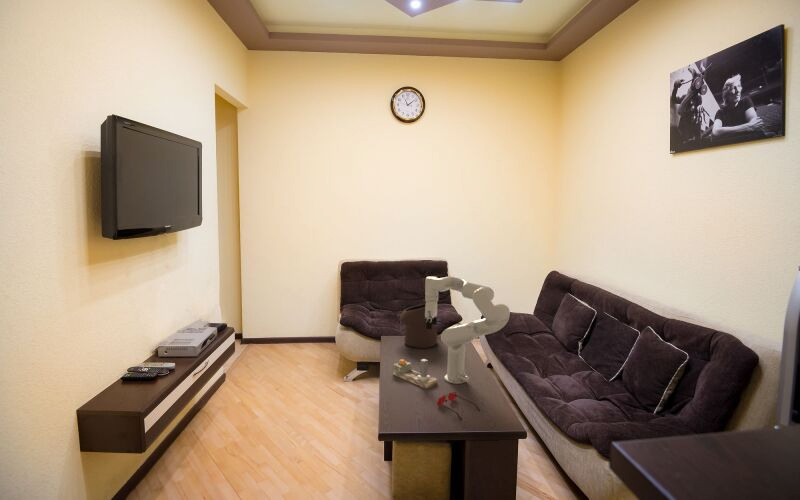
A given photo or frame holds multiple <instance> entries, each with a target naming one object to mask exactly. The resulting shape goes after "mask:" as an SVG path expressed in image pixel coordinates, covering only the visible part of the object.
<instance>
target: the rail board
mask: <svg viewBox="0 0 800 500" xmlns="http://www.w3.org/2000/svg"><path fill="white" fill-rule="evenodd" d="M392 365H393V366H392V371H393V372H392V374H393V376H396V377H399V378H401V379H403V380H405V381H408V382H409V383H412V384H413V385H414V384H415V385H417V386H419V387H421V388H423V389H426V390H427V389H429V388H431V387H434V386H437V385H438V378H436V377H434V376H433V377H430V379H428V380H425V381H421V380H419V379H417V376H418V375H420V372H418V371H416V370H414V369H412V362H409V361H406V364H405V365H404V366H401V365H399V362H396V363H394V364H392Z"/></svg>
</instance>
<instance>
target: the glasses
mask: <svg viewBox="0 0 800 500" xmlns="http://www.w3.org/2000/svg"><path fill="white" fill-rule="evenodd" d="M457 397H458V398H460V399H461V400H463V401H466V402H468V403H470V404H471V405H474V406H475V408H476V409H477V410H478V411H479V412H481V410H480V408H479V406H477V405H476V404H475V403H473V402H471V401H469V400H467V399H465V398H464V397H461V396H459V395H457V392H456V391H453V392H449V393H448V394H445V395H443V396H442V397H439V398H438V400H437V401H436V404H437V406H438V408H439V407H441V406H443V407H444V408H446V409H448V410H450V411H451V412H454V413H455V414H457V416H458V418H459V420H460V421H463V419H462V418H461V416H460V415H459V413H458V412H457V411H456V410H454V409H451V408H449V407H447V406H445V405H444V403H447V402H448V400H449V401H451V402H453V401H454V400H455V399H456V398H457ZM447 398H448V399H447Z"/></svg>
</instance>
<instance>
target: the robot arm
mask: <svg viewBox="0 0 800 500" xmlns="http://www.w3.org/2000/svg"><path fill="white" fill-rule="evenodd" d="M424 282H425V283H424V284H425V285H424V289H425V292H424V293H425V294H424V295H425V296H424V297H425V300H424V301H425V304H426V306H425V318H426V329H432V325H433V326H434V325H435V326H437V325H438V314H437V307H438V302H439V292H440V293H441V292H443V293H444V292H445V291H446V292H447V291H448V290H453V291H457V292H460V293H461V295H462V297H463V298H467V299H470V300H472V302H473V304H474V305H475V307H476V308H477V310H478V311H479V312H480V314H481V315H482V316H483V318H482V319H477V320H472V321H468V322H466V323H463V324H458V323H456V324H453V325H452V326H451V325H450V327H447V328H446V329H444V330H443V331H442V332H441V335H440V340H441V342H442V343H443V344H444V345H445V346H447V366H446V367H447V368H446V369H447V371H446V372H447V373H446V374H445V375H444V377H443V378H444V381H446V382H447V383H450V384H455V385H458V384H464V383H468V382H469V381H470V380H469V379H470V377H469V376H467V372H465V359H466V358H465V357H466V356H465V353H466V350H465V349H466V344H467V343H471V342H473V341H475V339H477V338H479V337H481V336H487V335H490V334H494V333H496V332H498V331H500V330H501V329H503V328H504V327H505V326H506V325H507V323H508V322H509V320H510V315H511V311H510V308H509V307H508V306H507V305H506V304H504V303H498V304H494V302H492V301H493V299H494V297H495V292H494V290H493V288H492V287H489V286H485V285H482V284H477V283H472V282H469V281H466V280H464V279H463V278H459V277H455V276H445V277H440V278H438V276H427V277H426V278H425V281H424Z"/></svg>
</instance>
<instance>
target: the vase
mask: <svg viewBox="0 0 800 500" xmlns="http://www.w3.org/2000/svg"><path fill="white" fill-rule="evenodd" d="M425 306H426V303H423V304H418V305H413V306H410V307H408V308H405V309H404V310H403V312H402V313H401V315H400V317H399V321H400V323H401V324H402V325H404V326H405V334H404V343H405V344H406V345H407V346H408V347H412V348H415V349H416V348H417V349H428V348H431V347H435V345H437V342H438V333H437V331H436V329H435V327H434V325H432V329H426V318H425ZM438 313H439V308H438V306H437V315H438Z"/></svg>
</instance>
